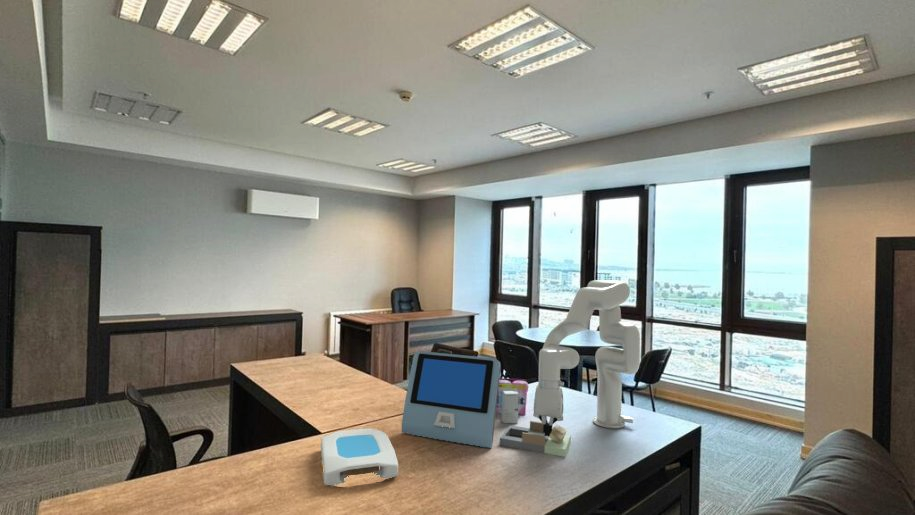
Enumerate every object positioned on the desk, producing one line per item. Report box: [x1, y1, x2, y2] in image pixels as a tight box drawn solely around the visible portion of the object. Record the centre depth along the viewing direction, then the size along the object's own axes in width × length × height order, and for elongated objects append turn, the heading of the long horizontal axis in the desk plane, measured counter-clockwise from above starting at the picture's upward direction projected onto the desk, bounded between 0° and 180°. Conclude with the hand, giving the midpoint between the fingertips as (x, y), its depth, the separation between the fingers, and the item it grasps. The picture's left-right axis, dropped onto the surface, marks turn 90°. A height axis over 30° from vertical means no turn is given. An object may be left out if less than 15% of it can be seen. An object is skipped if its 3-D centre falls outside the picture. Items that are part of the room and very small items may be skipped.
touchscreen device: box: [401, 350, 502, 449], centre depth 166 cm, size 35×20×30 cm, turn 70°
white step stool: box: [320, 427, 399, 486], centre depth 138 cm, size 21×28×6 cm
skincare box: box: [501, 391, 519, 424], centre depth 180 cm, size 6×4×12 cm
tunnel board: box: [499, 420, 572, 458], centre depth 158 cm, size 23×14×6 cm, turn 68°
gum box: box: [496, 377, 530, 416], centre depth 194 cm, size 24×8×14 cm, turn 85°
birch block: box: [549, 423, 567, 444], centre depth 155 cm, size 4×4×4 cm
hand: (547, 435), depth 156 cm, fingers closed
